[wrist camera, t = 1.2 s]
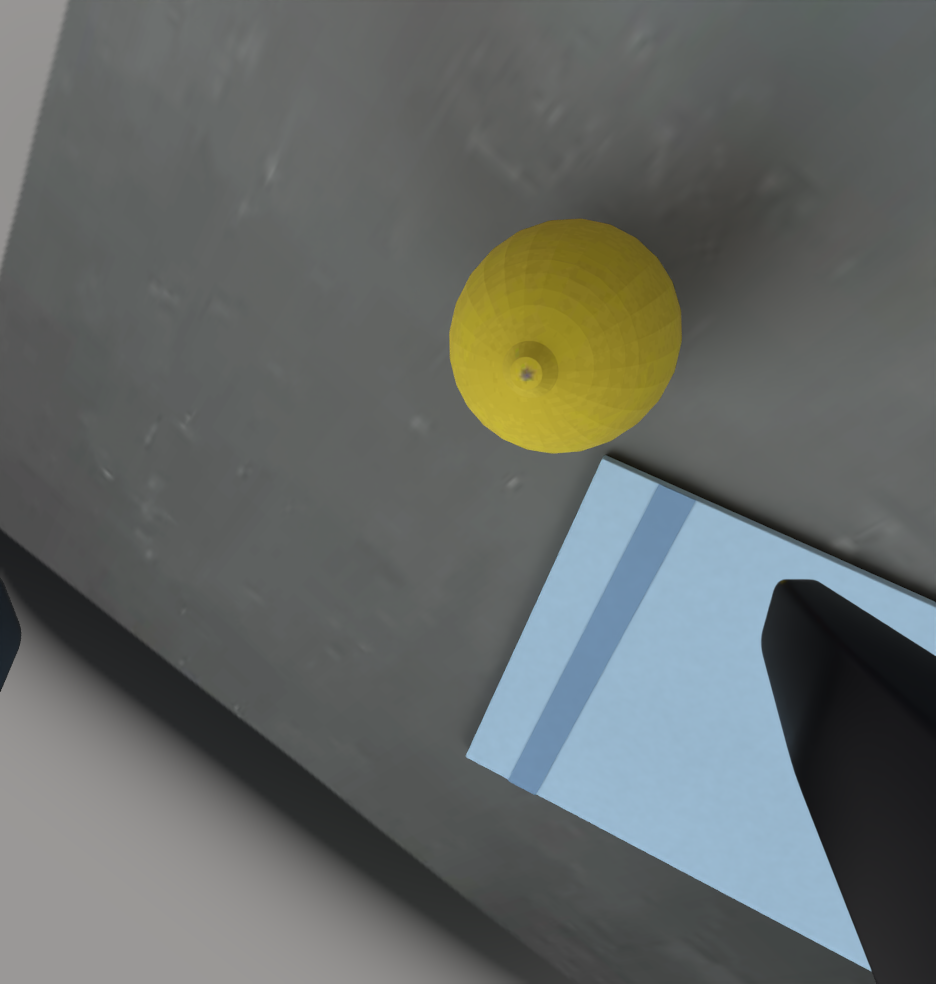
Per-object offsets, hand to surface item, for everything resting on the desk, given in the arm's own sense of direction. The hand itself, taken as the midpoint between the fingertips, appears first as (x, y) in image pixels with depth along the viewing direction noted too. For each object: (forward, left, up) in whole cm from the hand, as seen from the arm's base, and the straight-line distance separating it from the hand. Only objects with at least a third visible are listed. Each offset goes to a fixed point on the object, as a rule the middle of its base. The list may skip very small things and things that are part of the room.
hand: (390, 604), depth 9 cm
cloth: (-11, +10, -16) cm, 22 cm away
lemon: (+1, -1, -16) cm, 16 cm away
